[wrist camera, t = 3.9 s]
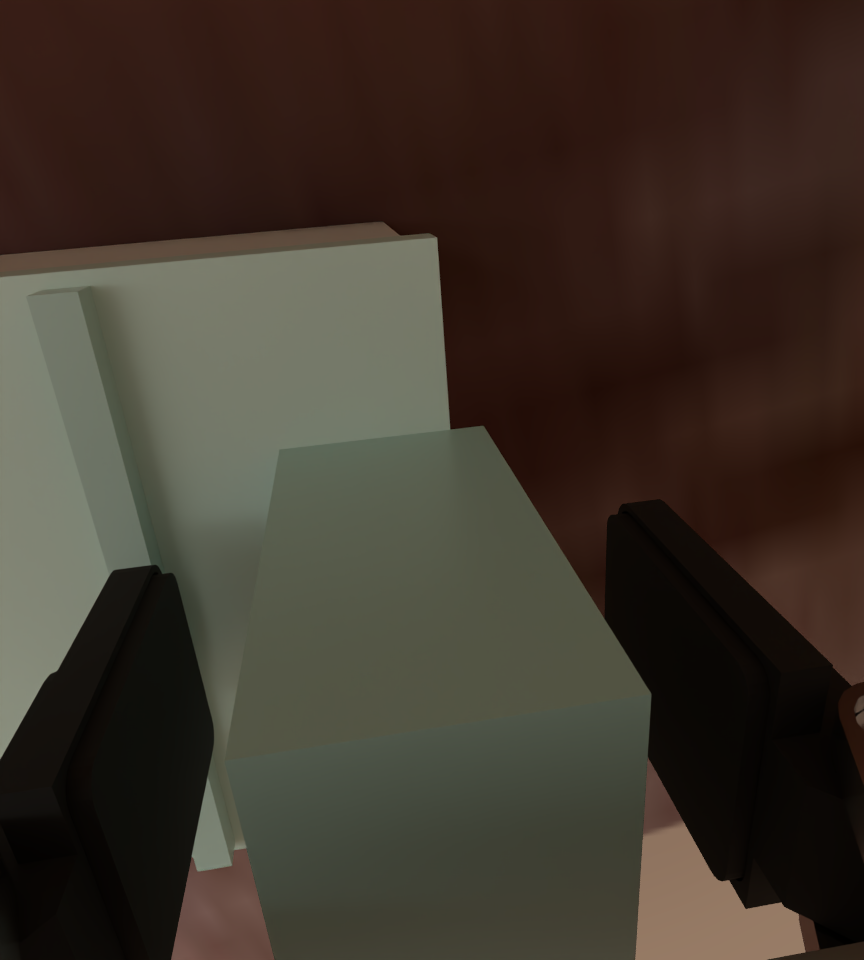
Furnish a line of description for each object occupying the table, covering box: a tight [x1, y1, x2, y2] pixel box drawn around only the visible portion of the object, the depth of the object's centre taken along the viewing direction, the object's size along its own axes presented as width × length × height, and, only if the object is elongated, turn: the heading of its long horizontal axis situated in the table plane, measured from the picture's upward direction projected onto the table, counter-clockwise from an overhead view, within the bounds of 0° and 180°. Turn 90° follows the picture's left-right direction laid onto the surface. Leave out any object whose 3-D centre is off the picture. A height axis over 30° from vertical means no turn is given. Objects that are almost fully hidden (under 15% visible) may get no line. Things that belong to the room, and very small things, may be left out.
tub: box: [0, 221, 400, 272], centre depth 15 cm, size 10×14×7 cm
